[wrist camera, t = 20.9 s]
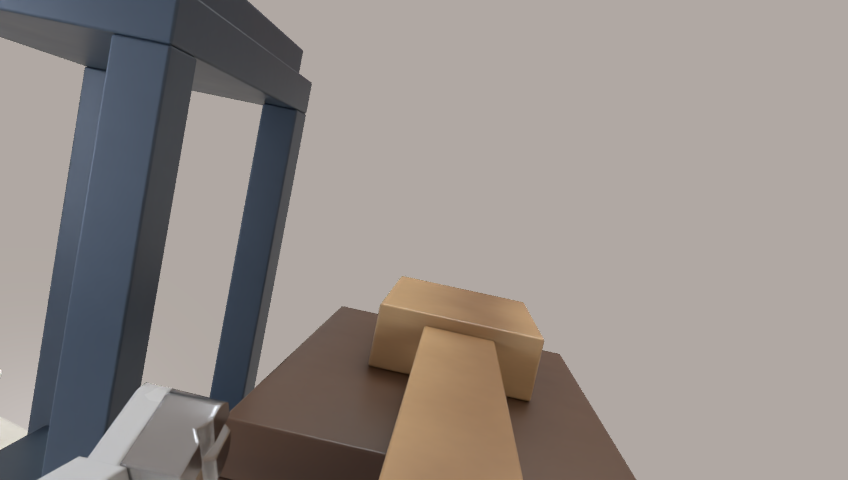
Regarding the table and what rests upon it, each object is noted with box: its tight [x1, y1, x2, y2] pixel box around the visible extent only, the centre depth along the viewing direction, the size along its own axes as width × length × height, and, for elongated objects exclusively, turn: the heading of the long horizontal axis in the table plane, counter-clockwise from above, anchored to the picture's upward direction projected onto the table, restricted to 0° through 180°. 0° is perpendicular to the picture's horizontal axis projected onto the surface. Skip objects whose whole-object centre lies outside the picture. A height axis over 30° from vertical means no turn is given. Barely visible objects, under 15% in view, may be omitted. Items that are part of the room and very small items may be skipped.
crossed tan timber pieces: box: [368, 276, 544, 480], centre depth 17 cm, size 6×20×2 cm, turn 177°
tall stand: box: [0, 0, 312, 480], centre depth 23 cm, size 10×14×29 cm
